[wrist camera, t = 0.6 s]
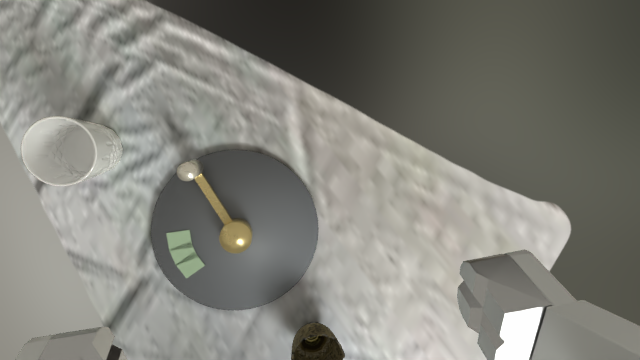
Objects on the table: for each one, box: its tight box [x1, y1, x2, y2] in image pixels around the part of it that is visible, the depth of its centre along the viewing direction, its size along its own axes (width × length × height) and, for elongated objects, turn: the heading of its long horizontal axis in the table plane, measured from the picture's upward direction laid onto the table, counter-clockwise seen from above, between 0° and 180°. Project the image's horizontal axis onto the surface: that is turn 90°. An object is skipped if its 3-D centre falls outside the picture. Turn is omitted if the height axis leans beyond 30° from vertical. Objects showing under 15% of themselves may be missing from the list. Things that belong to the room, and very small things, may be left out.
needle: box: [177, 160, 252, 253], centre depth 52 cm, size 14×4×6 cm, turn 30°
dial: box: [151, 150, 318, 310], centre depth 56 cm, size 24×24×1 cm
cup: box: [291, 323, 345, 360], centre depth 56 cm, size 8×7×8 cm
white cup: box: [21, 116, 123, 186], centre depth 48 cm, size 8×8×10 cm
